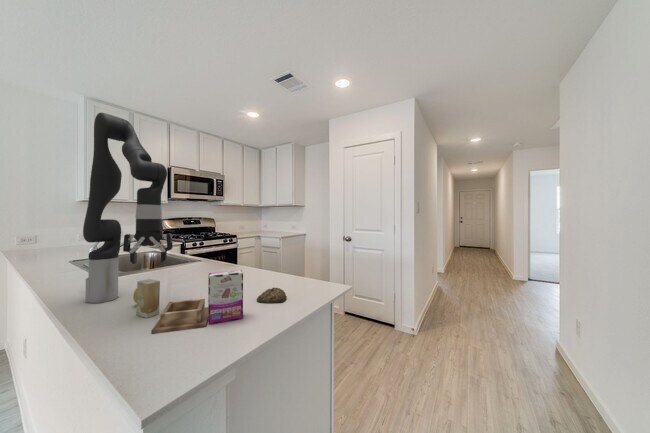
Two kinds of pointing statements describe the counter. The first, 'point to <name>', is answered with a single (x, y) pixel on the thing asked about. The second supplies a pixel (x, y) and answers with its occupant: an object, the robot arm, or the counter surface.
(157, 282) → the skincare box
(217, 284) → the candy bar box
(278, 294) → the bread roll
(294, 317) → the counter surface
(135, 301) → the lemon
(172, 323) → the walnut stand
